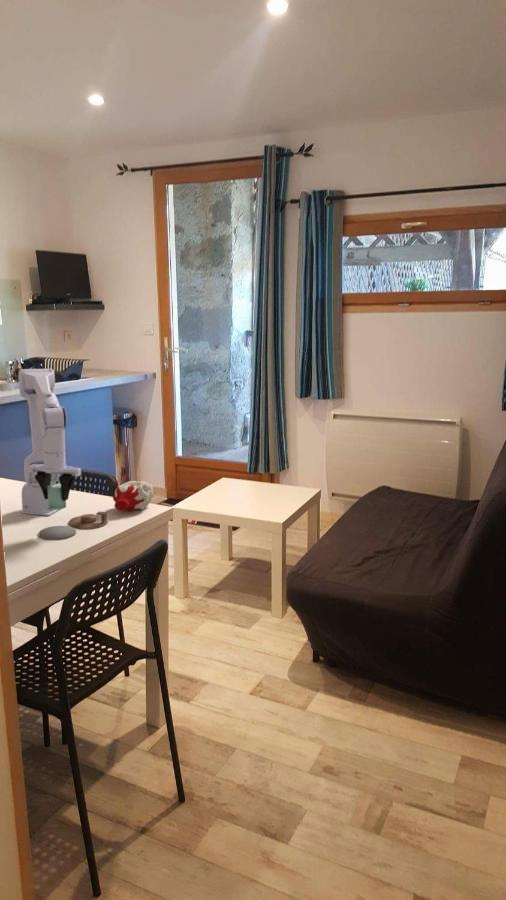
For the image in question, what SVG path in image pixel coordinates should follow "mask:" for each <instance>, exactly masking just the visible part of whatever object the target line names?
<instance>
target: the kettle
mask: <svg viewBox="0 0 506 900" xmlns="http://www.w3.org/2000/svg"><path fill="white" fill-rule="evenodd" d="M47 493H48V509H47V511H52V510H57V509H59V510H63V509H65V508H66V507H67V500H66V501H62V489H61V484H60V482H59V483H56V484H53V485H49V486H47Z"/></svg>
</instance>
